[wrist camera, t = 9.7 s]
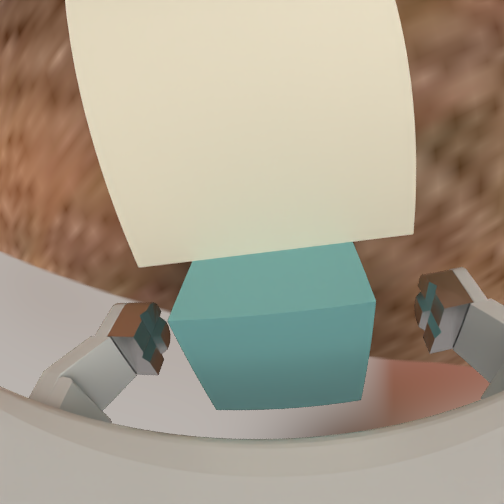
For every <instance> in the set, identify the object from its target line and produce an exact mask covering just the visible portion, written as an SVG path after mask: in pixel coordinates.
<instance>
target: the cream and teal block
mask: <svg viewBox="0 0 504 504" xmlns="http://www.w3.org/2000/svg"><path fill="white" fill-rule="evenodd" d="M65 4H66V14H67V22H68V29H69V36H70V43H71V49H72V55H73V60H74V66H75V71H76V76H77V80H78V85H79V90H80V94H81V98H82V103H83V107H84V111H85V115H86V118H87V122H88V126H89V130H90V133H91V137H92V140H93V144H94V147H95V151H96V154H97V157H98V160H99V164H100V167H101V170H102V173H103V176H104V179H105V182H106V185H107V188H108V191H109V194H110V196H111V199H112V202H113V205H114V207H115V210H116V213H117V216H118V218H119V221H120V223H121V226H122V229H123V231H124V234H125V236H126V239H127V241H128V244H129V246H130V248H131V251H132V253H133V256H134V258H135V260H136V263H137V265H138V267H148V266H156V265H164V264H173V263H181V262H189V261H192V264H191V266H190V268H189V271H188V273H187V275H186V278H185V280H184V282H183V285H182V287H181V289H180V292H179V294H178V297H177V299H176V301H175V304H174V306H173V309H172V311H171V314H170V316H169V319H168V323H169V325H170V327H171V329H172V331H173V333H174V335H175V337H176V339H177V341H178V343H179V345H180V347H181V348H182V350H183V352H184V354H185V356H186V358H187V360H188V361H189V363H190V365H191V367H192V369H193V371H194V372H195V374H196V376H197V378H198V379H199V381H200V383H201V384H202V386H203V388H204V390H205V391H206V393H207V395H208V396H209V398H210V400H211V402H212V403H213V405H214V407H215V408H216V410H264V409H285V408H299V407H311V406H320V405H329V404H337V403H345V402H351V401H358V400H361V397H362V392H363V387H364V382H365V377H366V371H367V365H368V359H369V353H370V346H371V339H372V332H373V324H374V315H375V306H376V300H375V297H374V295H373V292H372V289H371V287H370V284H369V281H368V279H367V276H366V274H365V271H364V268H363V266H362V263H361V261H360V259H359V256H358V254H357V251H356V249H355V246H354V244H353V242H354V241H362V240H370V239H378V238H386V237H394V236H402V235H410V234H413V231H414V217H415V198H416V140H415V121H414V108H413V97H412V88H411V80H410V72H409V65H408V59H407V53H406V47H405V42H404V37H403V32H402V27H401V23H400V18H399V14H398V10H397V6H396V2H395V0H65Z"/></svg>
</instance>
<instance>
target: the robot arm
mask: <svg viewBox="0 0 504 504" xmlns="http://www.w3.org/2000/svg"><path fill="white" fill-rule="evenodd" d="M418 287H419V289H420V291H421V292H420V293H419V294H418V295H417V296H416V299H415V305H414V309H415V318H416V321H417V324H418V326H419V327H420V328H421V329H423V330H424V331H425V332H424V336H423V338H424V341H425V343H426V346H427V348H428V351H429V353H435V352H439V351H444V350H448V349H453V350H454V351H455V352H456V353H457V354H458V355H459V356H461V357H462V358H463V359H464V360H465V361H466V362H467V363H469V364H470V365H471V366H472V367H473V368H474V369H475V370H476V371H477V372H479V373H480V374H481V375H482V376H483V377H484V378H485V379H486V380H487V381H488V382H490V384H489V386H488V387H487V389H486V391H485V392H484V393H483V395H482V397H481V400H479V401H476V402H474V403H471V404H468V405H465V406H462V407H459V408H456V409H453V410H450V411H447V412H443V413H440V414H437V415H433V416H430V417H426V418H422V419H418V420H414V421H410V422H406V423H401V424H397V425H393V426H387V427H382V428H377V429H371V430H365V431H359V432H352V433H345V434H337V435H328V436H318V437H307V438H306V437H305V438H291V439H290V438H289V439H225V438H209V437H196V436H186V435H177V434H169V433H162V432H155V431H149V430H143V429H137V428H132V427H126V426H121V425H117V424H112V421H111V419H110V418H109V417H108V416H107V415H106V414H105V413H104V412H103V410H104V409H105V408H106V407H107V406H108V405H109V404H110V403H111V402H112V401H113V400H114V399H115V398H116V396H117V395H118V394H119V393H120V392H121V391H122V390H123V389H124V388H125V387H126V386H127V385H128V384H129V383H130V382H131V381H132V380H133V379H134V378H135V377H136V376H137V375H136V374H142V375H159V372H160V369H161V366H162V364H163V361H164V358H163V356H162V353H163V352H165V351H166V350H167V349H168V347H169V344H170V330H169V327H168V325H167V323H166V321H164V320H163V319H162V318H161V317H160V313H161V310H160V309H159V307H158V305H157V304H156V303H154V302H145V303H117V304H115V305H113V306H112V308H111V310H110V311H109V313H108V314H107V316H106V318H105V320H104V321H103V323H102V324H101V326H100V328H99V329H98V331H97V333H96V335H95V336H91V337H89V338H88V339H87V340H85V341H84V342H82V343H81V344H80V345H78V346H77V347H76V348H74V349H73V350H72V351H70V352H69V353H67V354H66V355H65V356H63V357H62V358H61V359H60V360H58V361H57V362H55V363H54V364H53V365H51V366H50V367H49V368H47V369H46V370H45V371H43V373H42V375H41V377H40V379H39V380H38V382H37V384H36V386H35V388H34V389H33V391H32V393H31V395H30V397H29V398H26V397H24V396H22V395H19V394H17V393H14V392H12V391H10V390H7V389H5V388H2V387H1V386H0V504H504V305H502V304H500V303H498V302H497V301H495V300H493V299H487V298H486V296H485V295H484V293H483V292H482V291H481V289H480V288H479V286H478V285H477V283H476V282H475V281H474V279H473V278H472V277H471V275H470V274H469V273H468V271H467V270H466V269H465V268H463V267H459V268H454V269H449V270H446V271H440V272H434V273H428V274H422V275H421V276H420V278H419V283H418Z"/></svg>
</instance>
